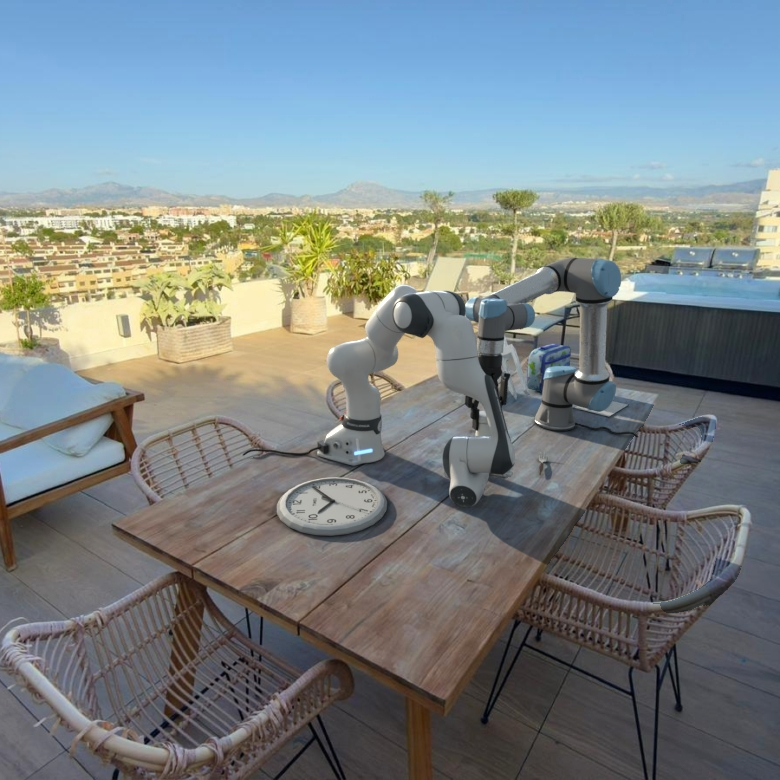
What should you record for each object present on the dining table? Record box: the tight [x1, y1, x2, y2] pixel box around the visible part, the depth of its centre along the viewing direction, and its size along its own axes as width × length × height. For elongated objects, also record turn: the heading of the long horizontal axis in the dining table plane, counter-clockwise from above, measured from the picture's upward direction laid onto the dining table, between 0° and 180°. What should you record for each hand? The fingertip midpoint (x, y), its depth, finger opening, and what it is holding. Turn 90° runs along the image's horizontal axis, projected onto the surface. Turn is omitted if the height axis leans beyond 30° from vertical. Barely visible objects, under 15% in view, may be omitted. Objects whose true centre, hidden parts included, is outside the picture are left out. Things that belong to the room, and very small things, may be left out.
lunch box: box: [526, 343, 572, 394], centre depth 248 cm, size 26×11×21 cm, turn 135°
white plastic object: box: [501, 334, 531, 400], centre depth 245 cm, size 37×45×31 cm
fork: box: [538, 451, 548, 475], centre depth 168 cm, size 3×16×2 cm, turn 160°
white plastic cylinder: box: [475, 423, 491, 436], centre depth 160 cm, size 5×5×19 cm
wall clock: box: [276, 476, 388, 537], centre depth 142 cm, size 30×2×30 cm
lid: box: [479, 410, 488, 424], centre depth 157 cm, size 5×5×2 cm
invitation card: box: [573, 400, 629, 418], centre depth 226 cm, size 21×1×15 cm
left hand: (482, 453), depth 162 cm, fingers closed on white plastic cylinder, 5 cm apart
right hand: (483, 427), depth 158 cm, fingers closed on lid, 5 cm apart
